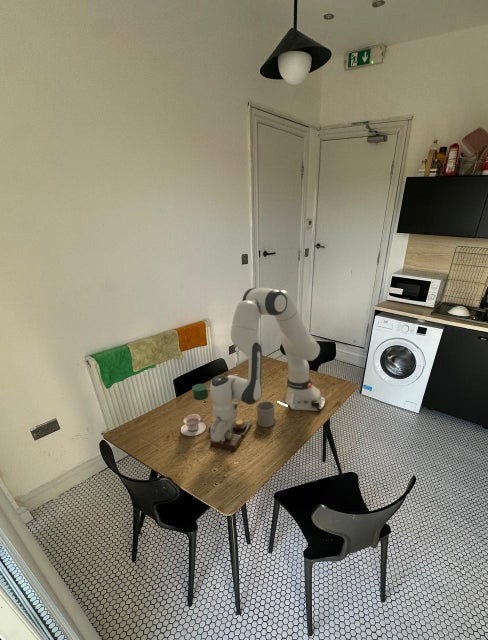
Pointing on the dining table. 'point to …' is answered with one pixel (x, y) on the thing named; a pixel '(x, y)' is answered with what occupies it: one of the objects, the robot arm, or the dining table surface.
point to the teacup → (192, 425)
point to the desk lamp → (201, 393)
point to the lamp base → (239, 428)
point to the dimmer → (228, 442)
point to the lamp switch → (239, 423)
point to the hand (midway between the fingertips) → (225, 436)
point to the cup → (265, 414)
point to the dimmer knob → (228, 435)
